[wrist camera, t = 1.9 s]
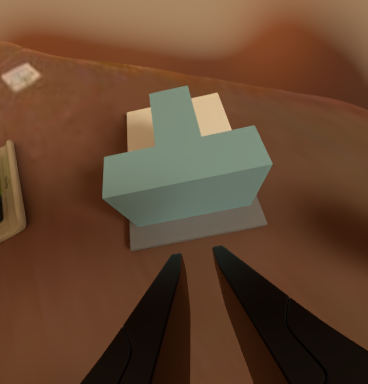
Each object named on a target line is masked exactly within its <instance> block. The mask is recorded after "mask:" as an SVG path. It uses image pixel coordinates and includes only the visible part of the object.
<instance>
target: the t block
mask: <svg viewBox="0 0 368 384" xmlns="http://www.w3.org/2000/svg"><path fill="white" fill-rule="evenodd" d="M149 96H150V105H151V114H152V122H153V131H154V140H155V146H154V147H149V148H145V149H140V150H135V151H130V152H126V153H121V154H116V155H111V156H107V157H104V171H103V192H102V199H103V200H105V201H106V202H107V203H108V204H110V205H111V206H112V207H113V208H115V209H116V210H117V211H119V212H120V213H121V214H122V215H124V216H125V217H126V218H127V219H129V220H130V221H131V222H132V223H134V224H135V225H136V226H137V227H141V226H146V225H151V224H156V223H161V222H167V221H172V220H177V219H182V218H187V217H192V216H197V215H203V214H208V213H213V212H218V211H223V210H228V209H233V208H239V207H244V206H249V205H251V204H252V202H253V200H254V198H255V196H256V194H257V193H258V191H259V189H260V187H261V185H262V183H263V181H264V179H265V178H266V176H267V174H268V172H269V170H270V168H271V166H272V165H273V164H272V162H271V159H270V157H269V155H268V153H267V151H266V149H265V147H264V144H263V142H262V140H261V138H260V136H259V134H258V132H257V129H256V127H255V125H254V126H249V127H245V128H240V129H235V130H230V131H226V132H221V133H216V134H211V135H206V136H202V137H201V133H200V129H199V126H198V122H197V118H196V115H195V111H194V107H193V104H192V100H191V96H190V93H189V89H188V86H183V87H179V88H174V89H170V90H165V91H161V92H156V93H152V94H149Z"/></svg>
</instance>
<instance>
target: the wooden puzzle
mask: <svg viewBox="0 0 368 384" xmlns="http://www.w3.org/2000/svg"><path fill="white" fill-rule="evenodd" d="M25 227H26V216H25V210H24V204H23V198H22V191H21V185H20V179H19V173H18V166H17V160H16V153H15V147H14V142H13V141H11V140H7V142H6V145H5V146H3V147H1V148H0V243H1V242H3V241H5V240H6V239H8V238H10V237H12V236H14V235H16V234H17V233H19V232H21V231H22V230H24V229H25Z"/></svg>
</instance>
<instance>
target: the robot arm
mask: <svg viewBox="0 0 368 384" xmlns="http://www.w3.org/2000/svg"><path fill="white" fill-rule="evenodd" d="M212 250H213V255H214V261H215V266H216V271H217V275H218V279H219V283H220V287H221V291H222V295H223V299H224V303H225V306H226V309H227V312H228V315H229V318H230V320H231V323H232V326H233V328H234V331H235V334H236V336H237V339H238V342H239V345H240V347H241V350H242V353H243V355H244V358H245V361H246V364H247V366H248V369H249V372H250V374H251V377H252V380H253V383H254V384H368V351H367V350H366V349H364V348H362V347H361V346H359V345H358V344H356V343H355V342H353V341H352V340H350V339H348V338H347V337H345V336H344V335H342V334H341V333H339V332H338V331H336V330H335V329H333V328H332V327H330V326H329V325H327V324H326V323H325V322H323V321H322V320H320V319H319V318H317V317H316V316H315V315H313V314H312V313H310V312H309V311H308V310H306V309H305V308H304V307H302V306H301V305H300V304H298V303H297V302H296V301H294V300H293V299H292V298H289V296H288V295H286V294H285V293H284V292H282V291H281V290H280V289H278V288H277V287H276V286H275V285H273V284H272V283H271V282H269V281H268V280H267V279H265V278H264V277H263V276H261V275H260V274H259V273H258V272H256V271H255V270H254V269H252V268H251V267H250V266H248V265H247V264H246V263H244V262H243V261H242V260H241V259H239V258H238V257H237V256H235V255H234V254H233V253H231V252H230V251H229V250H227V249H226V248H225V247H223V246H222V245H221V246H215V247H213V248H212ZM123 326H124V327H122V328H121V329H120V331H119V332H118V334H117V335H116V337H115V338H114V339H113V341H112V342H111V344H110V345H109V346H108V348H107V349H106V351H105V352H104V353H103V355H102V356H101V358H100V359H99V360H98V361H97V363H96V364H95V365H94V367H93V368H92V369H91V371H90V372H89V373H88V374H87V376H86V377H85V378H84V380H83V381H82V382H81V383H80V384H190V303H189V294H188V285H187V275H186V269H185V265H184V261H183V257H182V254H181V253H178V254H173V255H171V256H170V258H169V259H168V261H167V262H166V264H165V265H164V267H163V268H162V270H161V271H160V273H159V274H158V275H157V277H156V278H155V280H154V281H153V283H152V284H151V286H150V287H149V289H148V290H147V291H146V293H145V294H144V296H143V297H142V299H141V300H140V302H139V303H138V305H137V306H136V308H135V309H134V310H133V312H132V313H131V315H130V316H129V318H128V319H127V321H126V322H125V324H124V325H123Z"/></svg>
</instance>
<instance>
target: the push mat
mask: <svg viewBox="0 0 368 384" xmlns="http://www.w3.org/2000/svg"><path fill="white" fill-rule="evenodd" d="M191 100H192V104H193V107H194V111H195V115H196V118H197V122H198V126H199V129H200V133H201V137H202V136H206V135H211V134H216V133H221V132H226V131H230V130H231V127H230V124H229V122H228V119H227V117H226V114H225V111H224V109H223V106H222V103H221V101H220V98H219V96H218V93H214V94H210V95H205V96H201V97H196V98H191ZM127 141H128V152H130V151H135V150H140V149H145V148H149V147H154V146H155V140H154V131H153V122H152V114H151V107H150V108H146V109H141V110H136V111H132V112H127ZM266 225H267V221H266V219H265V216H264V214H263V211H262V208H261V206H260V203H259V200H258V198H257V195H256V196H255V198H254V200H253V202H252V204H251V205H249V206H244V207H239V208H233V209H228V210H223V211H218V212H213V213H208V214H203V215H197V216H192V217H187V218H182V219H177V220H172V221H167V222H161V223H156V224H151V225H146V226H141V227H137V226H136V225H135V224H134V223H132V222H131V221H130V250H131V251H137V250H142V249H147V248H152V247H158V246H163V245H168V244H173V243H179V242H184V241H189V240H194V239H200V238H205V237H210V236H216V235H221V234H226V233H231V232H237V231H242V230H247V229H252V228H258V227H263V226H266Z"/></svg>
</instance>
